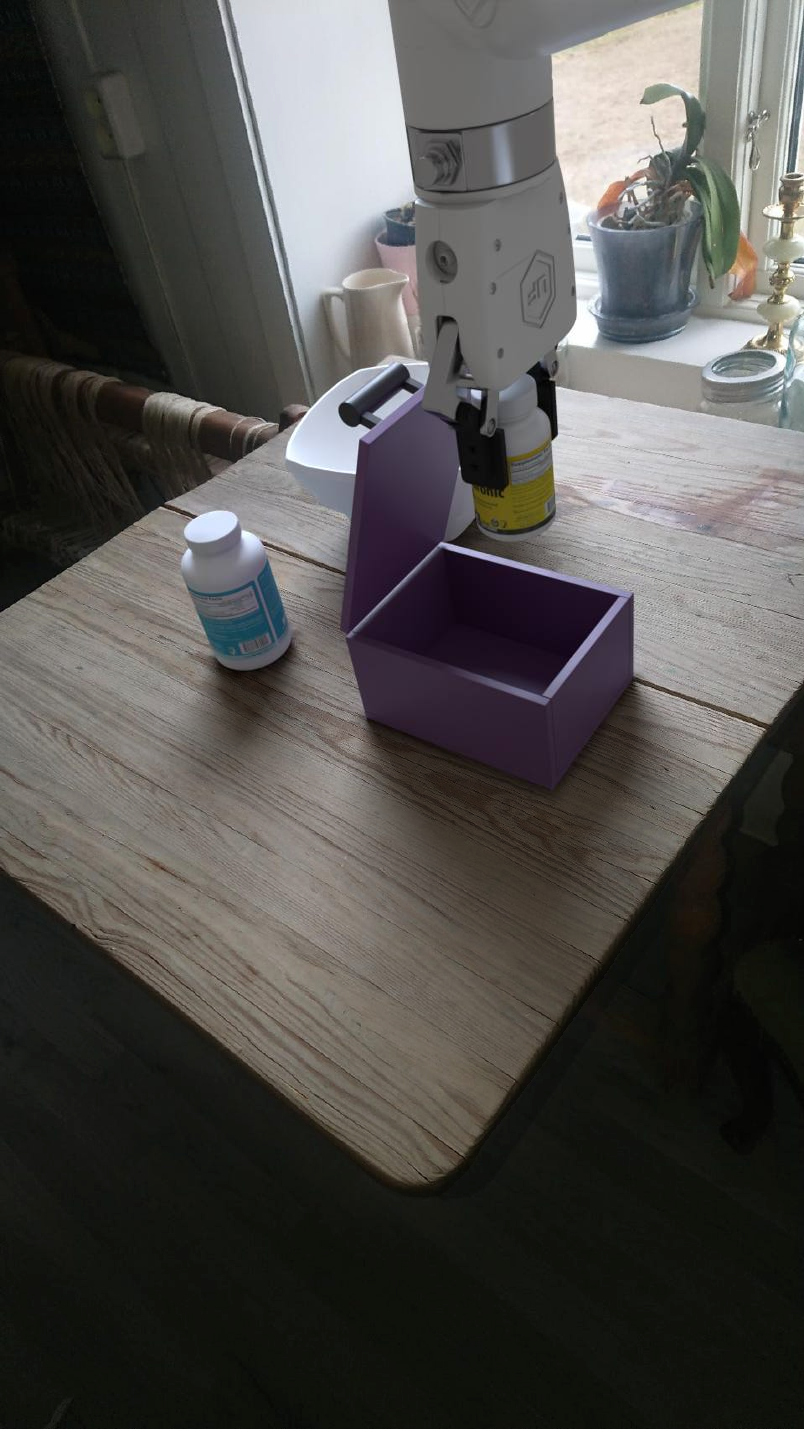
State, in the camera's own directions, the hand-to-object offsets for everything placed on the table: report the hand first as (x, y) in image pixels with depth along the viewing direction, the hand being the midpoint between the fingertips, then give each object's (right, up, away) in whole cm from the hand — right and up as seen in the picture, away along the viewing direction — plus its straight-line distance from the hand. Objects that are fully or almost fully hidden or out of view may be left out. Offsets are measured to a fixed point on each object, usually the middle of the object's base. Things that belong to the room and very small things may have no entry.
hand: (510, 457), depth 63 cm
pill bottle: (-21, -11, +28) cm, 36 cm away
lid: (-6, -1, +8) cm, 10 cm away
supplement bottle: (+1, -4, +4) cm, 5 cm away
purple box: (+1, -15, +18) cm, 23 cm away
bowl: (-5, +4, +39) cm, 39 cm away
